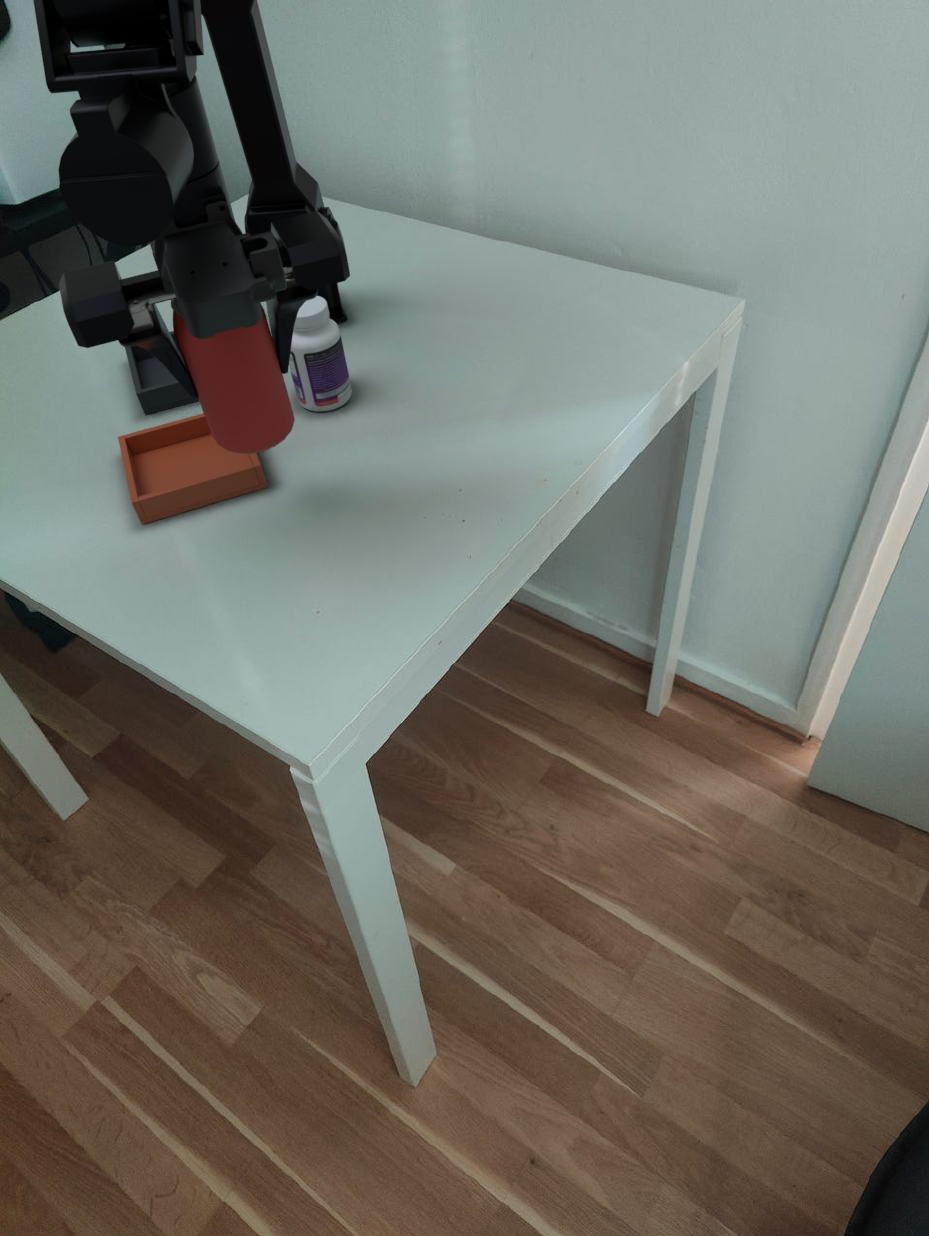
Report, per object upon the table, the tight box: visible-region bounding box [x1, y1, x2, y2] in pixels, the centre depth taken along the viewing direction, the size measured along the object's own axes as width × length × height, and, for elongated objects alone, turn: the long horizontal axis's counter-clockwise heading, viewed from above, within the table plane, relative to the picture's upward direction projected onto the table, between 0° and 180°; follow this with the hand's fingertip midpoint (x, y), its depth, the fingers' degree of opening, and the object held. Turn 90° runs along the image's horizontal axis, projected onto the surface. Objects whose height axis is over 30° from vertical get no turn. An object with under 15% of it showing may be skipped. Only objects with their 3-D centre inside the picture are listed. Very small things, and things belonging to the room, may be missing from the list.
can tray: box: [124, 330, 199, 416], centre depth 89 cm, size 12×10×2 cm
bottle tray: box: [117, 412, 269, 525], centre depth 78 cm, size 11×10×2 cm
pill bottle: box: [288, 296, 353, 412], centre depth 82 cm, size 5×5×10 cm
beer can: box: [170, 298, 295, 454], centre depth 64 cm, size 7×7×12 cm
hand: (239, 383), depth 65 cm, fingers closed on beer can, 6 cm apart
